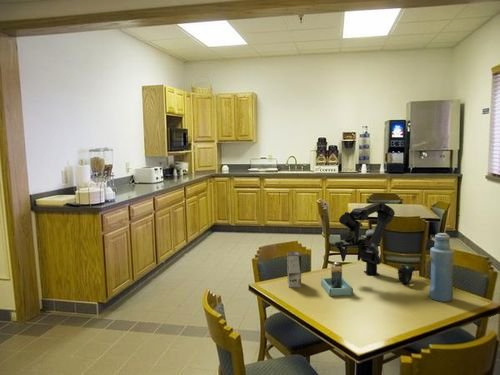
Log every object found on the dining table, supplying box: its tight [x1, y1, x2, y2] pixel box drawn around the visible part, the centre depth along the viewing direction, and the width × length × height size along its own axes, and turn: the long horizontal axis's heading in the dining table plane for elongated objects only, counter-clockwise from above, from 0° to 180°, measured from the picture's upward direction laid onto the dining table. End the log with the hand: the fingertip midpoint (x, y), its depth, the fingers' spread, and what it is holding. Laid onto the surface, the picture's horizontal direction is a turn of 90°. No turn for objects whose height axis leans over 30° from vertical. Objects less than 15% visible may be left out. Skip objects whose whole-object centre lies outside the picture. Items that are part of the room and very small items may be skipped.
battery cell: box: [330, 261, 343, 289], centre depth 193 cm, size 5×5×13 cm
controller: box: [397, 264, 416, 285], centre depth 202 cm, size 4×12×10 cm, turn 132°
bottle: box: [428, 232, 455, 303], centre depth 180 cm, size 10×10×30 cm
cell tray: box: [320, 276, 354, 297], centre depth 193 cm, size 16×11×4 cm
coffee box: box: [286, 250, 302, 288], centre depth 201 cm, size 9×6×16 cm
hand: (350, 260), depth 198 cm, fingers open, 9 cm apart
